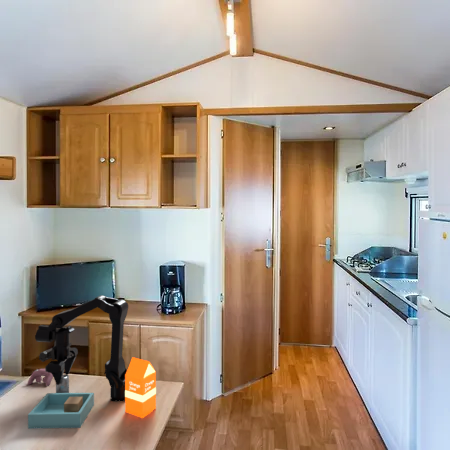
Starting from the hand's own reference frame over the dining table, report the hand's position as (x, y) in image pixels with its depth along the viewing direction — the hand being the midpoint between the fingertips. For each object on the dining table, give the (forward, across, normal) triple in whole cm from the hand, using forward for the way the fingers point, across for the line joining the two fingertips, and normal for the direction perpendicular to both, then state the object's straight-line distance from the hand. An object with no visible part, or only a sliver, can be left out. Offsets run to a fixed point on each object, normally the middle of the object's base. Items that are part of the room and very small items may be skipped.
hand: (62, 379), depth 152 cm
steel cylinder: (+6, 0, 0) cm, 6 cm away
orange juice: (+6, +14, +35) cm, 38 cm away
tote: (+6, +17, +7) cm, 19 cm away
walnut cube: (+5, +17, +11) cm, 21 cm away
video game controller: (+6, -10, -13) cm, 18 cm away
